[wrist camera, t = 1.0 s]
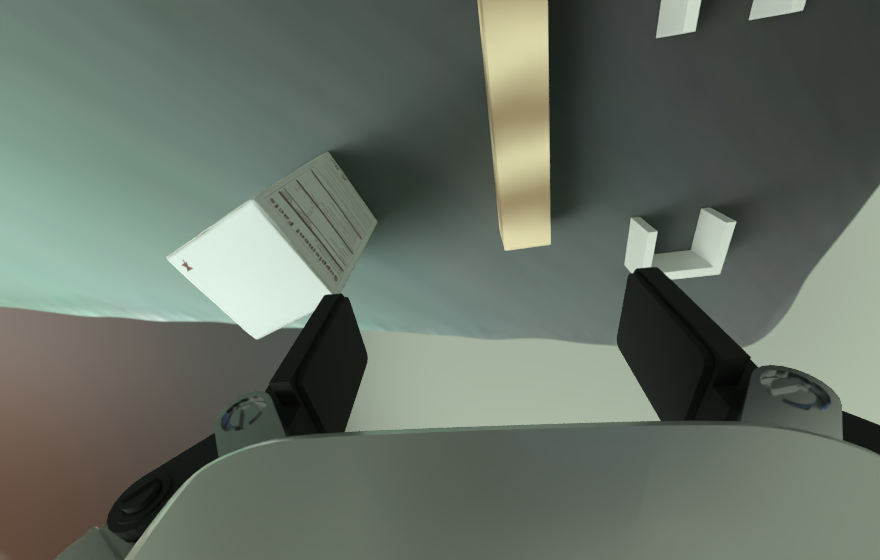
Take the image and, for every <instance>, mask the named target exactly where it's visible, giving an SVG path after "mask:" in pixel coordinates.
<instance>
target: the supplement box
mask: <svg viewBox="0 0 880 560" xmlns="http://www.w3.org/2000/svg"><path fill="white" fill-rule="evenodd" d="M377 223H378V222H377V220H376V219H375V217H374V216H373V214H372V213H371V211H370V210H369V208H368V207H367V206H366V204H365V203H364V201H363V200H362V199H361V197H360V196H359V194H358V193H357V191H356V190H355V188H354V187H353V186H352V184H351V183H350V181H349V180H348V178H347V177H346V176H345V174H344V173H343V171H342V170H341V169H340V167H339V166H338V164H337V163H336V161H335V160H334V159H333V157H332V156H331V155H330V153H329V152H325V153H324V154H322V155H320V156H318V157H317V158H315V159H313V160H312V161H310V162H308V163H307V164H305V165H304V166H302V167H300V168H299V169H297V170H296V171H294V172H293V173H291V174H289V175H288V176H286V177H284V178H283V179H281V180H279V181H278V182H276V183H274V184H273V185H271V186H270V187H268V188H266V189H265V190H263V191H262V192H260V193H258V194H257V195H255V196H254V197H252V198H251V199H249V200H248V201H246V202H245V203H243V204H242V205H240V206H239V207H237V208H236V209H234V210H233V211H231V212H230V213H228V214H227V215H225V216H224V217H223V218H221V219H220V220H218V221H217V222H215V223H214V224H213V225H211V226H210V227H208V228H207V229H206V230H204V231H203V232H201V233H200V234H198V235H197V236H196V237H194V238H193V239H191V240H190V241H188V242H187V243H186V244H184V245H183V246H181V247H180V248H178V249H177V250H176V251H174V252H173V253H171V254H170V255H168V256H167V259H168V260H169V261H170V262H171V263H172V264H173V265H174V266H175V267H176V268H177V269H178V270H179V271H180V272H181V273H182V274H183V275H184V276H185V277H186V278H187V279H188V280H189V281H191V282H192V283H193V284H194V285H195V286H196V287H197V288H198V289H199V290H201V291H202V292H203V293H204V294H205V295H206V296H207V297H208V298H209V299H211V300H212V301H213V302H214V303H215V304H216V305H217V306H219V307H220V308H221V309H222V310H223V311H224V312H225V313H226V314H227V315H228V316H230V317H231V318H232V319H233V320H234V321H235V322H236V323H238V324H239V325H240V326H241V327H242V328H243V329H244V330H245V331H246V332H248V333H249V334H250V335H251V336H253V337H254V338H255V339H260V338H262V337H264V336H266V335H268V334H270V333H272V332H274V331H276V330H278V329H280V328H282V327H284V326H286V325H288V324H290V323H292V322H294V321H296V320H298V319H300V318H302V317H304V316H306V315H308V314H310V313H312V312H314V311H315V309H316V307H317V306H318V304H319V303H320V301H321V299H322V298H323V296H324V295H328V294H340V293H341V291H342V289H343V288H344V286H345V284H346V282H347V280H348V278H349V276H350V274H351V272H352V271H353V269H354V267H355V265H356V263H357V261H358V259H359V257H360V256H361V254H362V252H363V250H364V248H365V246H366V244H367V242H368V240H369V238H370V236H371V234H372V232H373V230H374V228H375V227H376V225H377Z"/></svg>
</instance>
